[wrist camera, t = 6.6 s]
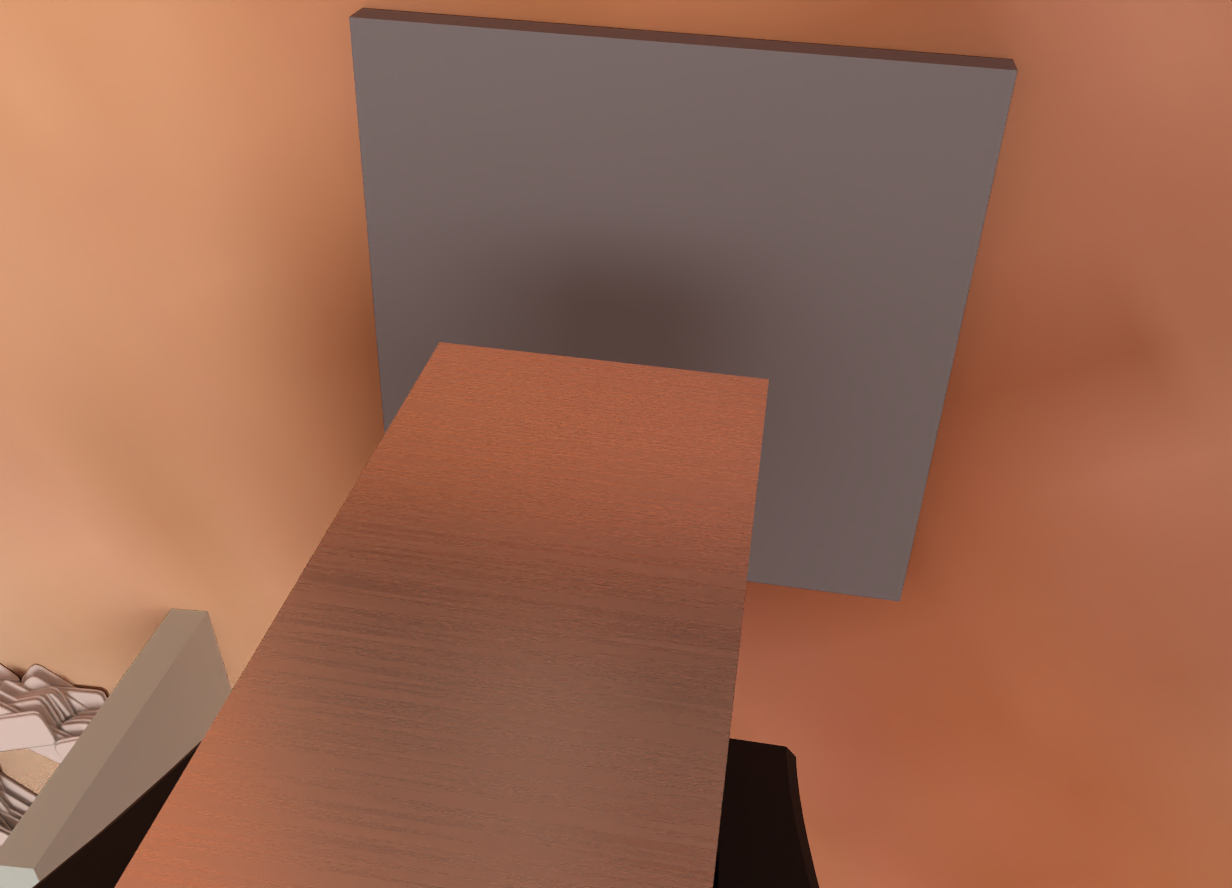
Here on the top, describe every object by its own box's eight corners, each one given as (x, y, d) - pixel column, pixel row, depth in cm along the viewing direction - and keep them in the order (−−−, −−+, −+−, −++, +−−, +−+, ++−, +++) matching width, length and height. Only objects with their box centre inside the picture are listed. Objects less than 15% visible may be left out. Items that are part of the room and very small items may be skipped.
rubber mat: (1013, 59, 17) (1017, 70, 17) (898, 581, 23) (899, 601, 22) (362, 8, 19) (348, 17, 18) (402, 516, 24) (393, 534, 23)
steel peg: (769, 379, 14) (696, 1032, 7) (737, 630, 16) (660, 1302, 10) (439, 342, 14) (91, 925, 8) (453, 591, 17) (194, 1205, 10)
